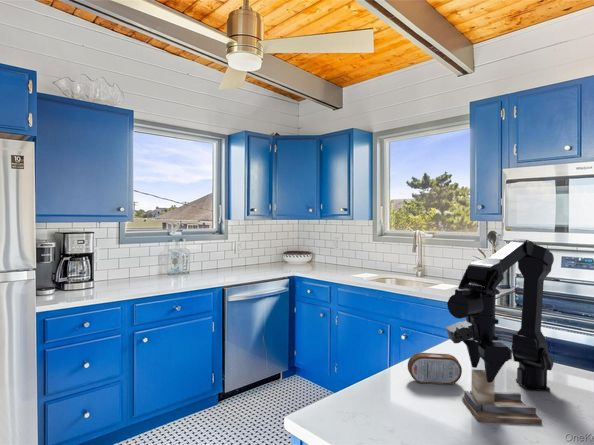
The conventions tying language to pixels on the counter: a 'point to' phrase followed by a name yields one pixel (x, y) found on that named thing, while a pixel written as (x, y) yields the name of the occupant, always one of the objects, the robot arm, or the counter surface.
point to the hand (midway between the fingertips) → (481, 374)
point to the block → (482, 388)
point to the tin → (434, 368)
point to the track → (502, 409)
